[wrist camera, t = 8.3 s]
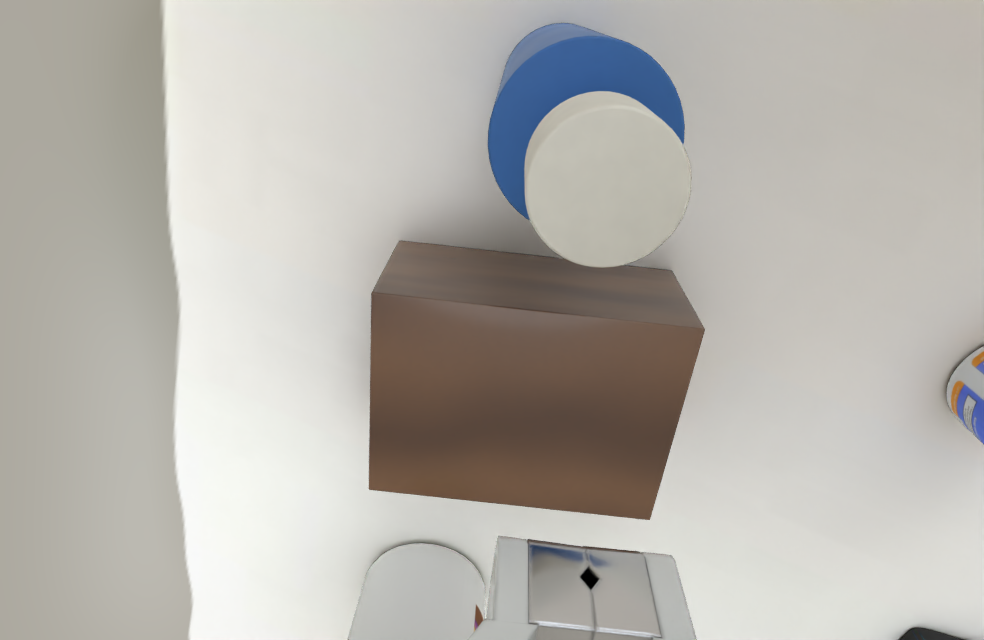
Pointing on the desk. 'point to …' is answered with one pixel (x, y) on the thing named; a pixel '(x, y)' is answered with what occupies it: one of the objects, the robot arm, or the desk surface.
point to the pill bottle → (969, 393)
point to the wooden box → (526, 379)
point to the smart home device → (927, 635)
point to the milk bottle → (419, 596)
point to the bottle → (590, 145)
